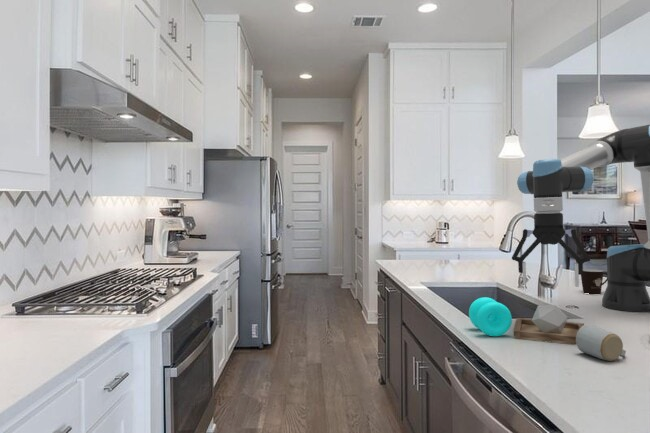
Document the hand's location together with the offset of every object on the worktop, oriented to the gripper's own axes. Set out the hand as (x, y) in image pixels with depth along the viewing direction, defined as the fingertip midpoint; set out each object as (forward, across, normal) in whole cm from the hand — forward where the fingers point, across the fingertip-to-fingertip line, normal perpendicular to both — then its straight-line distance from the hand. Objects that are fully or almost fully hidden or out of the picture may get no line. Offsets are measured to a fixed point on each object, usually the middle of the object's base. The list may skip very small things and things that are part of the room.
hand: (550, 285), depth 127 cm
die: (+14, 0, 0) cm, 14 cm away
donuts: (+14, -16, -6) cm, 23 cm away
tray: (+14, 0, 0) cm, 14 cm away
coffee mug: (+16, +18, +74) cm, 78 cm away
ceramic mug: (+15, +11, -16) cm, 25 cm away
